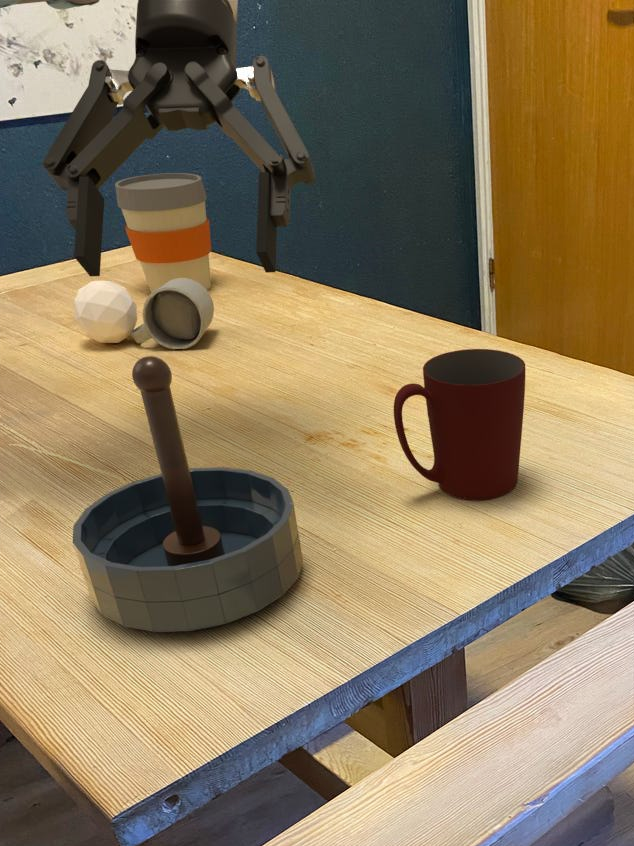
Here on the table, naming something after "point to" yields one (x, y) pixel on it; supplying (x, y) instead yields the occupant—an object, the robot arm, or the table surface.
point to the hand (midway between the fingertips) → (176, 265)
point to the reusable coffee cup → (167, 226)
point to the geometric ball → (105, 311)
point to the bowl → (194, 582)
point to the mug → (470, 421)
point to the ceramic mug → (176, 314)
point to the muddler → (174, 468)
